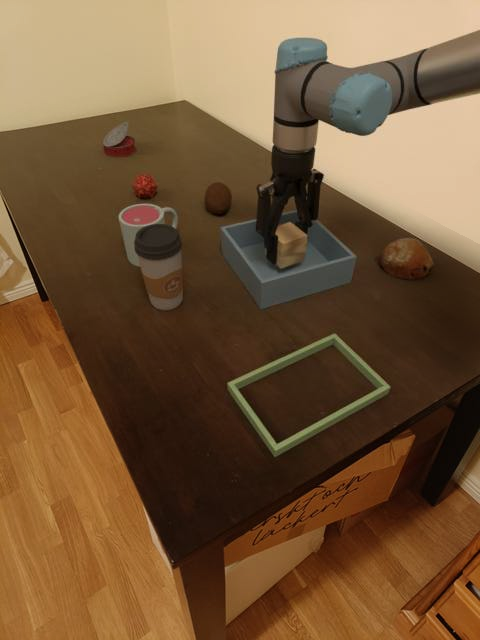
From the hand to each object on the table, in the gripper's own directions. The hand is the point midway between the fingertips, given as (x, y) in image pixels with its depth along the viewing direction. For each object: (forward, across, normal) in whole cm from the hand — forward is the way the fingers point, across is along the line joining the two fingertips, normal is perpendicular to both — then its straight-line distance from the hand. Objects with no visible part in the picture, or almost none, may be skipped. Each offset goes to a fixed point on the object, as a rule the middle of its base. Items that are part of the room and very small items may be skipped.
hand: (284, 255), depth 90 cm
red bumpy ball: (+3, +14, -45) cm, 47 cm away
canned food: (+3, +10, -77) cm, 78 cm away
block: (0, 0, 0) cm, 0 cm away
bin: (+3, 0, 0) cm, 3 cm away
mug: (+3, +21, -20) cm, 29 cm away
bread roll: (+3, -22, +13) cm, 26 cm away
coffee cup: (+3, +26, -3) cm, 26 cm away
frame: (+3, +15, +29) cm, 33 cm away
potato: (+3, 0, -29) cm, 29 cm away
